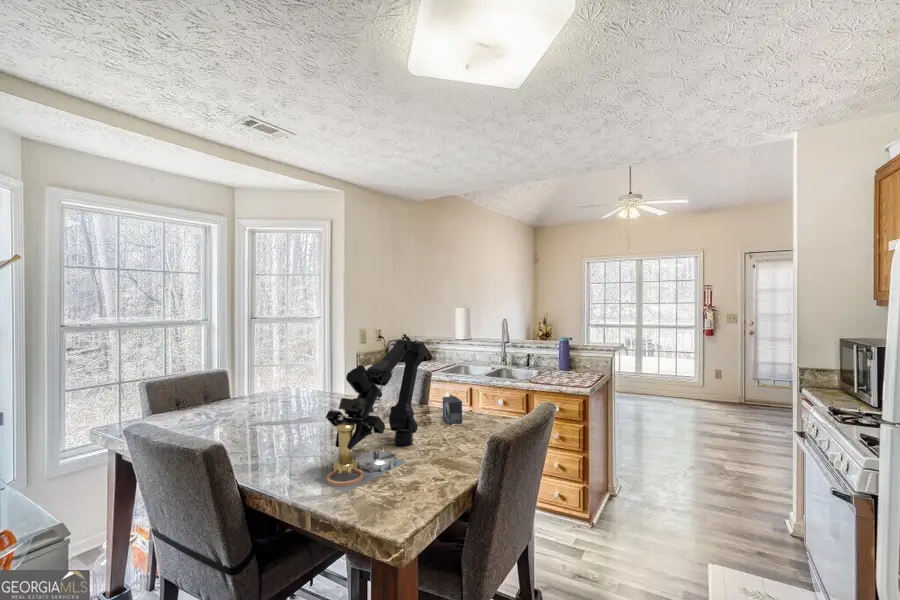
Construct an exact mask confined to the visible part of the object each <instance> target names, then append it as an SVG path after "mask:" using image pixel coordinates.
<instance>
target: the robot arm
mask: <svg viewBox="0 0 900 600" xmlns="http://www.w3.org/2000/svg"><path fill="white" fill-rule="evenodd" d="M426 352H427V348H426V345H424V343H423V342H413V341H411V340H409V339H399V340H396V342H395V344H394V345H393V346H392V348H391V349H390V350H389V351H388V353H386V355H385V356H384V357H383V358H382V359H381V360H380V361H378V362H376V363H373V364H372V365H371V366H369V367H368V368H367V370H366V367H365V366H364V365H361V364H360V365H359V364H358V365H357V367H355V368H353V369H351V370H350V371H349V372H348V373H346V376H345V377H346V381H347V383H348V384H349V386H351V388H352V390H354V392H355V393H357V394H358V395H357V396H356V398H353V399H351V398H345V397H342V398H341V399H340V402H339V406H338V410H333V409H332V410H329V411H328V412H327V413H326V416H325V419H327V421H328V422H329V423H331V424H332V426H333V427H336V426H337V425H338V424H340V423H345V422H349V423H354V424H355V429H354V430H355V431H354V432H353V436H352V438H351V440H350V443H349V445H348V449H351V448H353V449H354V447H355V446H356V445H358V444H359V443H360V442H361V441H362V440H364V439H365V438H366V437H368V436H369V435H372V434H373V432H374V433H375V434H380V435H382V434H384V432H385V429H386V425H385V423H384V421H383V420H382V418H381V417H380V416H378V415H370V413H374V408H373V407H374V405H375V403H376V400H377V398H382V397H383V393H382V391H381V388H379V387H378V386H387V385H388V384H389V382H390V381H391V378H392V377H393V373H392V371H393V370H394V369H395V367H396V366H397V365H398V363H399V362H400V361H401V360H402V359H403V361H404V368H403V373H402V378H401V379H402V380H401V384H400V391H399V394H398V400H397V402H396V404H395V405H392V406H391V408H390V413H389V416H388V417H389V418H388V423H389V426H390V427H389V428H390V432H391V431H392V432H395V433H394V435H395V437H394V446H395V447H398V448H403V447H409V446H411V445H412V444H414V443H413V442H414V437H413V436H414V433H417V431H418V427H419V424H418V423H417V421H416V420H415V418H414V415H415V412H414V409H413V406H412V401H413V395H414V390H415V384H416V379H417V373H418V370H419V369H418V368H419V366H420V365H421V363H422V362H423V361H424V359H425V355H426ZM340 410H344V414H346V415H347V416H345V415H344V414H343V413H342V412H341V411H340ZM372 430H373V432H372ZM336 431H337V430H336ZM335 447H336V448H339V431H337V432H336V438H335Z"/></svg>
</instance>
